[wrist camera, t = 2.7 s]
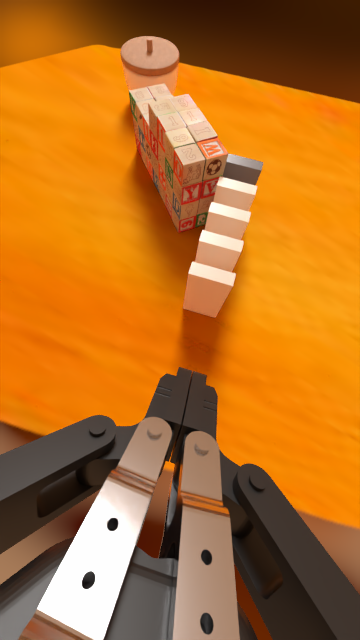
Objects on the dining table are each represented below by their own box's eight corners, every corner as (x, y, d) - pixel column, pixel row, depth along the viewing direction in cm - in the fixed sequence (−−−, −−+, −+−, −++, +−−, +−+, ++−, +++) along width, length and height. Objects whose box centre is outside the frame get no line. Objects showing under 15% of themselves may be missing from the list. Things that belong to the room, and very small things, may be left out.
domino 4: (190, 282, 37) (199, 240, 27) (193, 274, 37) (202, 229, 28) (222, 291, 36) (241, 252, 27) (224, 282, 37) (244, 241, 27)
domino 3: (198, 259, 38) (208, 211, 29) (200, 251, 39) (211, 201, 29) (228, 267, 38) (248, 222, 28) (230, 259, 38) (251, 212, 29)
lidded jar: (118, 110, 49) (108, 46, 40) (139, 82, 53) (133, 17, 44) (167, 124, 49) (167, 62, 40) (184, 94, 52) (187, 31, 43)
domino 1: (211, 216, 41) (224, 161, 32) (213, 210, 42) (227, 153, 32) (239, 224, 41) (261, 170, 31) (241, 217, 41) (263, 162, 32)
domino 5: (182, 308, 35) (188, 273, 26) (185, 299, 36) (192, 261, 26) (215, 317, 35) (233, 286, 25) (217, 308, 35) (236, 273, 26)
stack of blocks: (135, 149, 46) (125, 63, 34) (165, 142, 47) (165, 56, 35) (178, 234, 40) (183, 164, 28) (212, 223, 41) (229, 152, 29)
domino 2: (205, 237, 40) (216, 185, 30) (207, 229, 40) (219, 176, 31) (234, 245, 39) (255, 195, 30) (236, 237, 40) (257, 186, 30)
